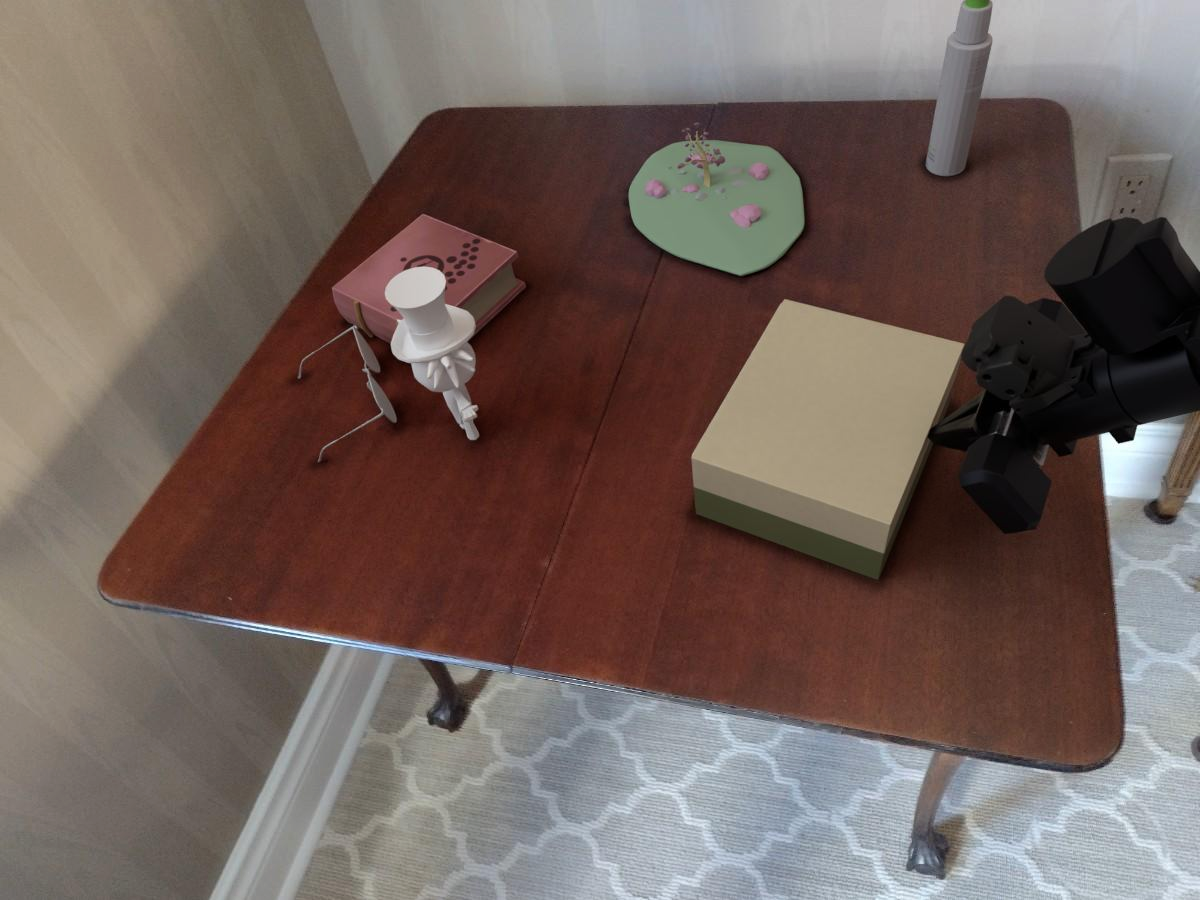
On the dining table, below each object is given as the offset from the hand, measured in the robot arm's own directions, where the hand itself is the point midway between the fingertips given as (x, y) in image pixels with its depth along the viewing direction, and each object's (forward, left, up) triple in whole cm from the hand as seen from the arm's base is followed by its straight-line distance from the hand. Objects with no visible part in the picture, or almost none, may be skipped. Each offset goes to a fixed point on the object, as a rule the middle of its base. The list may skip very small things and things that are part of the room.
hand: (931, 437), depth 70 cm
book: (+40, -38, -7) cm, 55 cm away
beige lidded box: (+6, -5, -7) cm, 11 cm away
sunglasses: (+50, -26, -7) cm, 56 cm away
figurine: (+38, -19, -7) cm, 43 cm away
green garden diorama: (+5, -44, -7) cm, 45 cm away
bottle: (-21, -42, -7) cm, 48 cm away
